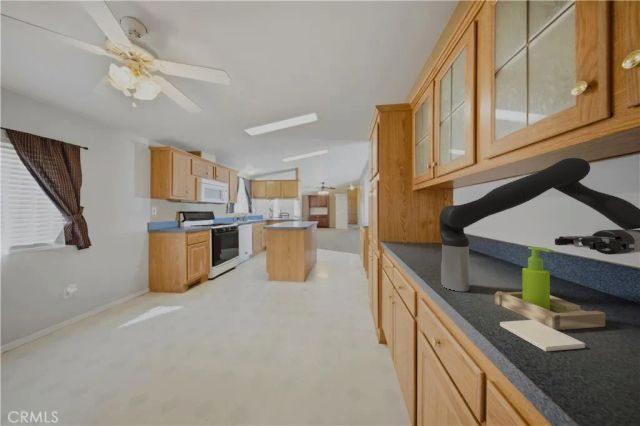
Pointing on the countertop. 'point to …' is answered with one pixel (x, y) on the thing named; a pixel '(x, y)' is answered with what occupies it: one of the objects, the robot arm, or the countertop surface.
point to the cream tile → (542, 335)
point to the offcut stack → (563, 306)
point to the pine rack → (549, 313)
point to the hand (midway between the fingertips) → (572, 243)
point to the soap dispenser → (536, 280)
